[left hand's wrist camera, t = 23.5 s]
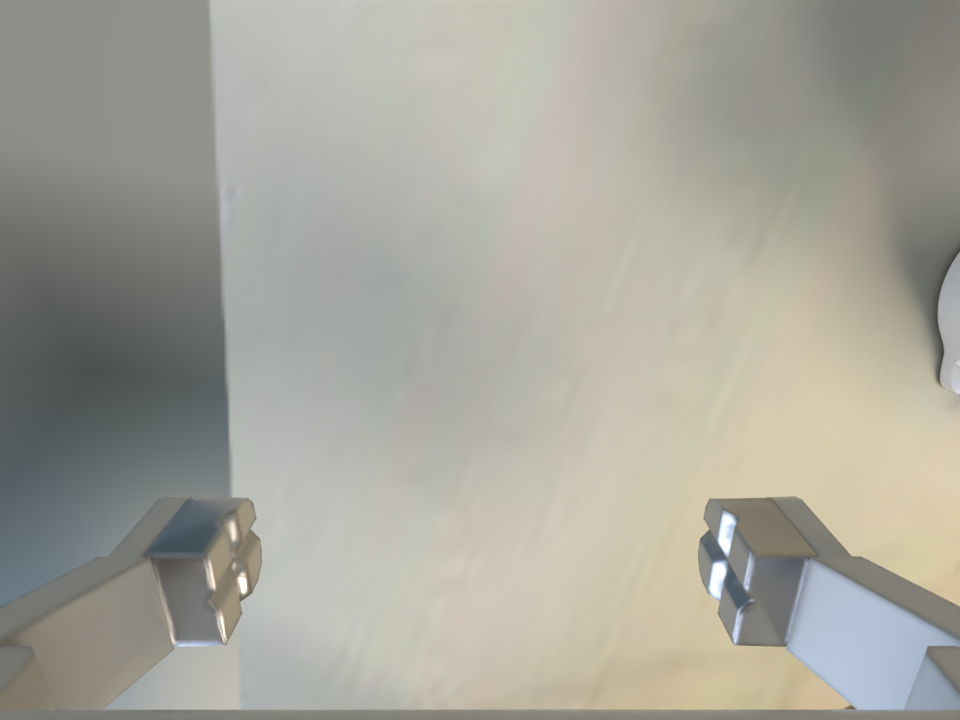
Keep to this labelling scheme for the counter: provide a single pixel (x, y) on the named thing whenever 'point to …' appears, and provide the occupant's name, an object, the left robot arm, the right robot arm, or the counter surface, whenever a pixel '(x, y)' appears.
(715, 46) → the counter surface
